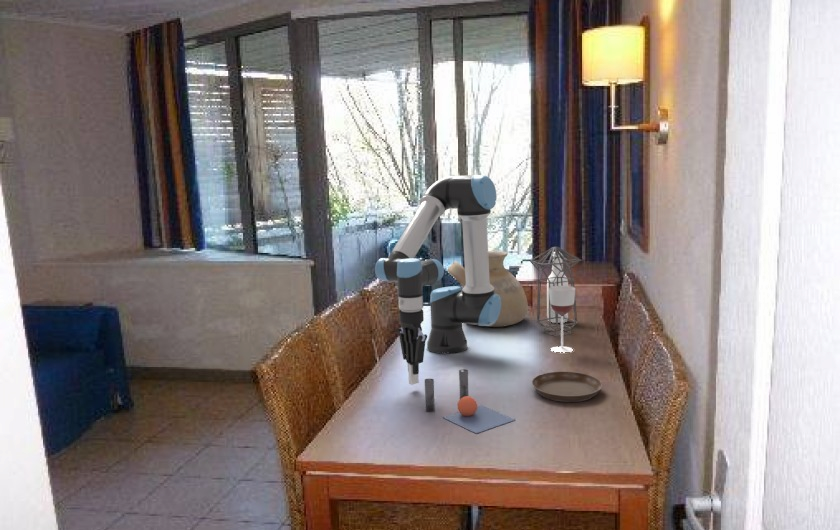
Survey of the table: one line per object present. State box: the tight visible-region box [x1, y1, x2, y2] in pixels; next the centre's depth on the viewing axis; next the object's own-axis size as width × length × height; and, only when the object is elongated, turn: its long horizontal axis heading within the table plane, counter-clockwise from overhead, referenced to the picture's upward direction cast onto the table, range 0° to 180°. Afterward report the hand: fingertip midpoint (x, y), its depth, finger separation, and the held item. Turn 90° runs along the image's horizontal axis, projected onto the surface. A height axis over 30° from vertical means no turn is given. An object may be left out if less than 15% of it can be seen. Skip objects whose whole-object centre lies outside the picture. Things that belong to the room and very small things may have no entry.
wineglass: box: [549, 285, 576, 354], centre depth 244 cm, size 9×10×23 cm
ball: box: [457, 396, 478, 416], centre depth 186 cm, size 6×6×6 cm
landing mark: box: [443, 404, 516, 435], centre depth 184 cm, size 14×14×1 cm
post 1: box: [424, 378, 436, 413], centre depth 191 cm, size 3×3×9 cm
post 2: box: [458, 369, 469, 400], centre depth 198 cm, size 3×3×9 cm
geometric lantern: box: [530, 246, 583, 337], centre depth 266 cm, size 16×16×35 cm
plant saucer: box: [531, 371, 603, 403], centre depth 202 cm, size 21×21×3 cm
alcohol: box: [546, 251, 569, 324], centre depth 285 cm, size 9×9×30 cm
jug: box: [447, 250, 529, 328], centre depth 288 cm, size 29×34×30 cm
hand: (413, 383), depth 208 cm, fingers closed
